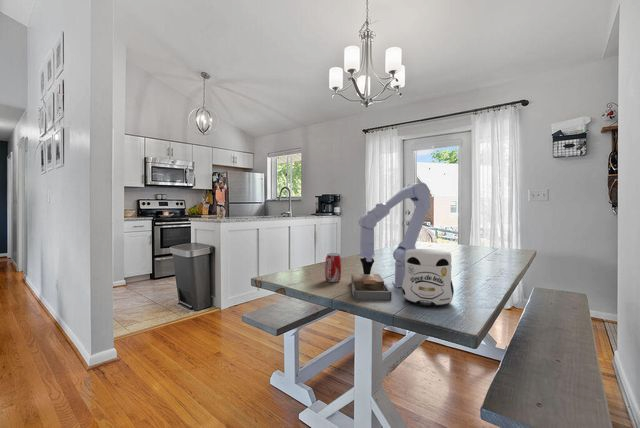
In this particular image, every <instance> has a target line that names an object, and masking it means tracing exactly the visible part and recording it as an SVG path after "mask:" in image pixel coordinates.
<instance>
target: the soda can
mask: <svg viewBox="0 0 640 428" xmlns="http://www.w3.org/2000/svg"><path fill="white" fill-rule="evenodd" d="M324 267H325V269H324V270H325V272H324V276H325V277H324V278H325V280H326V281H327V282H329V283H338V282H340V281H341V278H342V258H341V254H340V253H337V252H336V253H333V252H332V253H331V252H330V253H327V255H326V257H325V266H324Z"/></svg>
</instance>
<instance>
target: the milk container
mask: <svg viewBox="0 0 640 428" xmlns="http://www.w3.org/2000/svg"><path fill="white" fill-rule="evenodd" d="M401 289H402V290H401V291H402V292H401V293H402V296H403V297H404V299H405V300H406V301H408V302H409V303H412V304H415V305H418V306H424V307H436V308H437V307H444V306H448V305H449V304H451V303H452V301H453V298H454V285H453V280H452V253H451V252H449V251H446V250H440V249H430V248H428V249H426V248H416V249H411V250H407V251H406V254H405V277H404V280H403V284H402V287H401Z"/></svg>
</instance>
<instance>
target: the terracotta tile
mask: <svg viewBox="0 0 640 428" xmlns="http://www.w3.org/2000/svg"><path fill="white" fill-rule="evenodd" d="M375 282H376V280H375V278H374V277H371V276H363V283H364V284H375Z"/></svg>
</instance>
